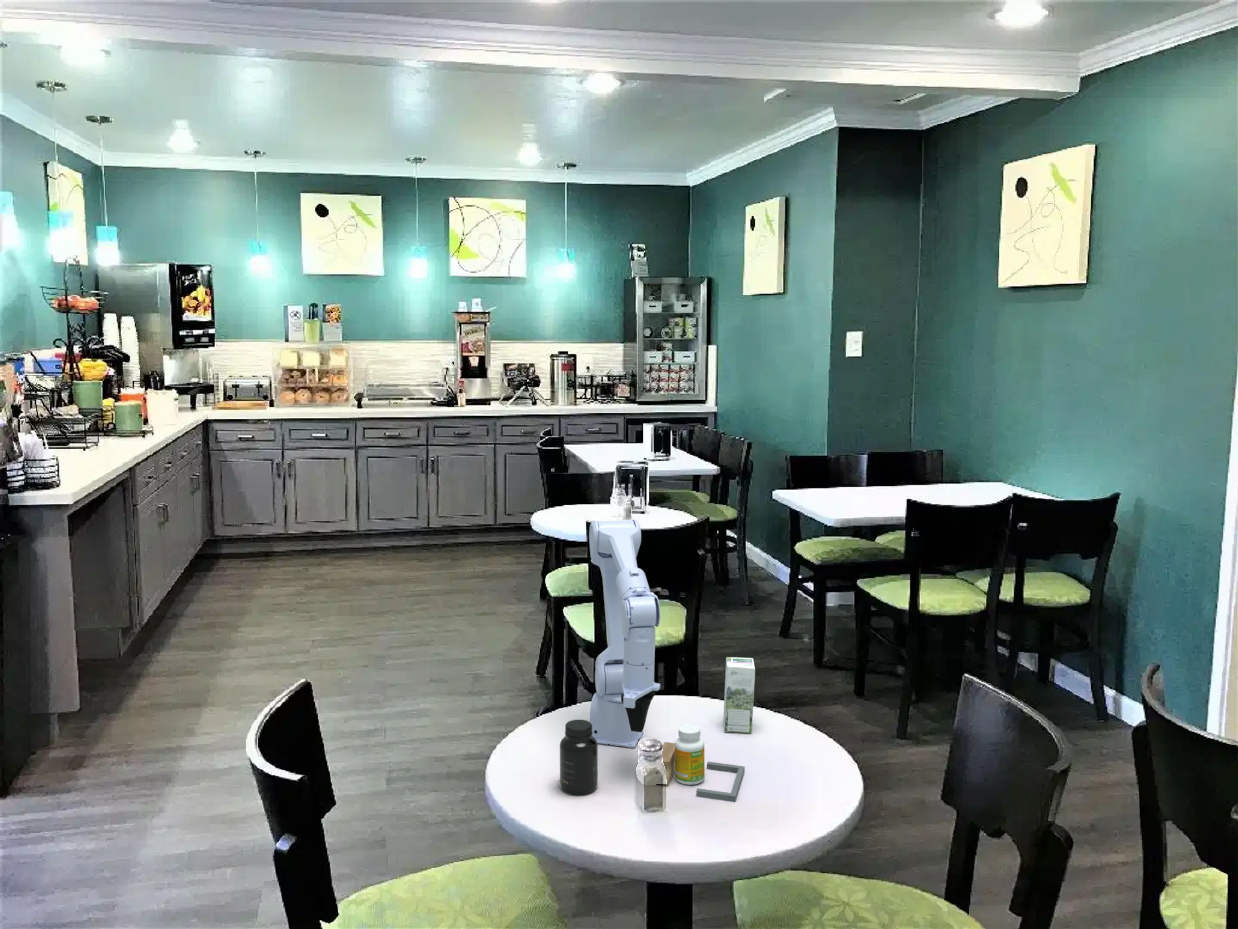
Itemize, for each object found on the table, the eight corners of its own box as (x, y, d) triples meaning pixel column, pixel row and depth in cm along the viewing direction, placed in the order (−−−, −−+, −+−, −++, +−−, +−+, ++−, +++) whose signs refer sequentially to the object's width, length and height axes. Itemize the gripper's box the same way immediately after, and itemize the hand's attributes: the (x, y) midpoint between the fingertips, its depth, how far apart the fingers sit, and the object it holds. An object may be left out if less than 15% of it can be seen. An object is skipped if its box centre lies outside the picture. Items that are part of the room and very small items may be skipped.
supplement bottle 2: (692, 788, 181) (691, 737, 180) (669, 779, 185) (668, 729, 184) (710, 778, 185) (710, 727, 184) (687, 769, 189) (686, 720, 188)
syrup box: (750, 722, 211) (753, 656, 208) (752, 735, 205) (755, 667, 202) (723, 721, 211) (725, 655, 209) (724, 733, 205) (726, 665, 203)
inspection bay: (696, 796, 179) (696, 791, 179) (707, 766, 190) (707, 761, 190) (735, 801, 177) (735, 796, 177) (744, 771, 189) (744, 766, 189)
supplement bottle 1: (579, 774, 186) (580, 713, 184) (605, 788, 181) (606, 725, 179) (551, 786, 181) (552, 723, 179) (576, 800, 176) (578, 736, 175)
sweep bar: (654, 783, 183) (655, 760, 182) (663, 764, 190) (664, 742, 190) (668, 785, 182) (668, 762, 181) (676, 766, 190) (677, 743, 189)
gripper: (651, 676, 176) (649, 749, 178) (668, 649, 190) (666, 717, 192) (612, 672, 178) (611, 744, 180) (632, 645, 192) (630, 713, 194)
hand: (637, 730), depth 186 cm, fingers closed
